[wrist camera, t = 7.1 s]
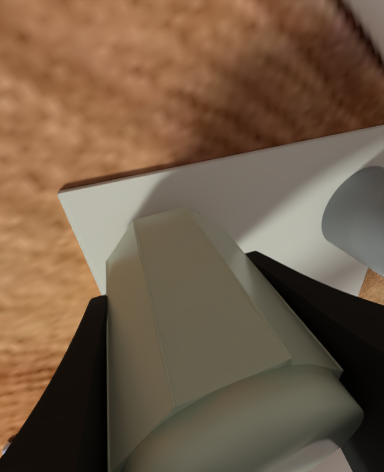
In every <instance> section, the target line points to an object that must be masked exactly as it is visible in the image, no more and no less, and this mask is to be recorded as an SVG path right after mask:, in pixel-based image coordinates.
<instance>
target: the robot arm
mask: <svg viewBox="0 0 384 472" xmlns="http://www.w3.org/2000/svg"><path fill="white" fill-rule="evenodd" d="M245 254H246V256H247V257H248V258H249V259H250V260H251V262H252V263H253V264H254V265H255V266H256V267H257V269H258V270H259V271H260V272H261V273H262V275H263V276H264V277H265V278H266V279H267V280H268V282H269V283H270V284H271V285H272V286H273V288H274V289H275V290H276V291H277V292H278V293H279V295H280V296H281V297H282V298H283V299H284V301H285V302H286V303H287V304H288V305H289V306H290V308H291V309H292V310H293V311H294V312H295V313H296V315H297V316H298V317H299V318H300V319H301V321H302V322H303V323H304V324H305V325H306V326H307V328H308V329H309V330H310V331H311V332H312V334H313V335H314V336H315V337H316V338H317V339H318V341H319V342H320V343H321V344H322V345H323V347H324V348H325V349H326V350H327V351H328V352H329V354H330V355H331V356H332V357H333V358H334V360H335V361H336V362H337V363H338V364H339V365H340V367H341V368H342V369H343V372H342V374H341V376H340V379H339V381H340V382H341V384H342V385H343V386H344V387H345V389H346V390H347V391H348V392H349V394H350V395H351V396H352V397H353V398H354V400H355V401H356V402H357V403H358V405H359V406H360V407H361V408H362V410H363V412H364V418H363V421H362V423H361V424H360V426H359V428H358V429H357V430H356V431H355V433H354V434H353V435H352V436H351V437H350V438H349V439H348V440H347V441H346V442H345V443H344V444H343V445H342V446H341V447H340V448H341V450H342V451H343V453H344V455H345V457H346V459H347V461H348V463H349V465H350V467H351V469H352V471H353V472H384V305H381V304H378V303H374V302H371V301H368V300H365V299H362V298H360V297H357V296H354V295H351V294H349V293H346V292H343V291H341V290H338V289H336V288H333V287H331V286H328V285H326V284H324V283H321V282H319V281H317V280H315V279H312V278H310V277H308V276H306V275H304V274H302V273H300V272H298V271H295V270H293V269H291V268H289V267H287V266H285V265H284V264H282V263H280V262H278V261H276V260H274V259H272V258H270V257H268V256H266V255H264V254H262V253H260V252H258V251H256V250H255V251H252V252H248V253H245ZM107 315H108V305H107V296H106V294H105V295H102V296H98V297H95V298H92V299H91V300H90V301H89V304H88V306H87V309H86V311H85V313H84V316H83V318H82V320H81V322H80V324H79V327H78V329H77V331H76V333H75V335H74V337H73V339H72V341H71V343H70V345H69V347H68V349H67V351H66V353H65V355H64V357H63V359H62V361H61V363H60V365H59V366H58V368H57V370H56V372H55V374H54V376H53V377H52V379H51V381H50V383H49V385H48V386H47V388H46V390H45V391H44V393H43V395H42V396H41V398H40V400H39V401H38V403H37V404H36V406H35V408H34V409H33V411H32V412H31V414H30V415H29V417H28V419H27V420H26V422H25V423H24V425H23V426H22V428H21V429H20V431H19V432H18V434H17V435H16V436H15V438H14V439H13V441H12V442H10V443H8V444H6V445H5V446H4V448H3V451H2V454H3V455H2V457H1V458H0V472H108V450H107V344H106V333H107Z"/></svg>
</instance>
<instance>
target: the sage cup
mask: <svg viewBox="0 0 384 472" xmlns="http://www.w3.org/2000/svg"><path fill="white" fill-rule="evenodd" d="M106 296H107V305H108V315H107V333H106V344H107V450H108V472H308V471H310V470H311V469H312V468H314V467H315V466H317V465H318V464H319V463H321V462H322V461H324V460H325V459H326V458H327V457H329V456H330V455H331V454H332V453H333V452H335V451H336V450H337V449H338V448H340V447H341V446H342V445H343V444H344V443H345V442H346V441H347V440H348V439H349V438H350V437H351V436H352V435H353V434H354V433H355V431H356V430H357V429H358V428H359V426H360V424H361V423H362V421H363V418H364V412H363V410H362V408H361V407H360V406H359V405H358V403H357V402H356V401H355V400H354V398H353V397H352V396H351V395H350V394H349V392H348V391H347V390H346V389H345V387H344V386H343V385H342V384H341V382H340V381H339V379H340V376H341V374H342V372H343V369H342V368H341V367H340V365H339V364H338V363H337V362H336V361H335V360H334V358H333V357H332V356H331V355H330V354H329V352H328V351H327V350H326V349H325V348H324V347H323V345H322V344H321V343H320V342H319V341H318V339H317V338H316V337H315V336H314V335H313V334H312V332H311V331H310V330H309V329H308V328H307V326H306V325H305V324H304V323H303V322H302V321H301V319H300V318H299V317H298V316H297V315H296V313H295V312H294V311H293V310H292V309H291V308H290V306H289V305H288V304H287V303H286V302H285V301H284V299H283V298H282V297H281V296H280V295H279V293H278V292H277V291H276V290H275V289H274V288H273V286H272V285H271V284H270V283H269V282H268V280H267V279H266V278H265V277H264V276H263V275H262V273H261V272H260V271H259V270H258V269H257V267H256V266H255V265H254V264H253V263H252V262H251V260H250V259H249V258H248V257H247V256H246V254H245V253H244V252H243V251H242V250H241V249H240V247H239V246H238V245H237V244H236V243H235V241H234V240H233V239H232V238H231V237H230V236H229V234H228V233H227V232H226V231H225V230H224V228H221V227H220V226H218V225H216V224H215V223H213V222H211V221H210V220H208V219H206V218H205V217H203V216H201V215H199V214H198V213H196V212H194V211H193V210H191V209H189V208H188V207H187V206H185V207H182V208H178V209H175V210H171V211H167V212H163V213H159V214H155V215H151V216H147V217H143V218H140V219H136V220H132V223H131V224H130V226H129V227H128V229H127V230H126V232H125V233H124V235H123V236H122V238H121V240H120V241H119V243H118V244H117V246H116V247H115V249H114V250H113V252H112V253H111V255H110V256H109V258H108V259H107V261H106Z"/></svg>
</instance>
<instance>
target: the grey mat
mask: <svg viewBox="0 0 384 472" xmlns="http://www.w3.org/2000/svg"><path fill="white" fill-rule="evenodd" d="M371 166H381V167H384V125H380V126H375V127H370V128H365V129H360V130H355V131H350V132H345V133H340V134H335V135H330V136H326V137H321V138H316V139H311V140H306V141H301V142H296V143H291V144H286V145H281V146H276V147H272V148H267V149H262V150H257V151H252V152H247V153H242V154H237V155H232V156H227V157H222V158H218V159H213V160H208V161H203V162H198V163H193V164H188V165H183V166H178V167H173V168H168V169H164V170H159V171H154V172H149V173H144V174H139V175H134V176H129V177H124V178H119V179H114V180H110V181H105V182H100V183H95V184H90V185H85V186H80V187H75V188H70V189H65V190H60V191H58V193H57V195H58V197H59V200H60V202H61V204H62V206H63V209H64V211H65V213H66V215H67V218H68V220H69V222H70V224H71V227H72V229H73V231H74V233H75V236H76V238H77V240H78V242H79V245H80V247H81V249H82V251H83V254H84V256H85V258H86V260H87V263H88V265H89V267H90V269H91V272H92V274H93V276H94V279H95V281H96V283H97V285H98V288H99V290H100V292H101V294H102V295H105V294H106V261H107V259H108V258H109V256H110V255H111V253H112V252H113V250H114V249H115V247H116V246H117V244H118V243H119V241H120V240H121V238H122V236H123V235H124V233H125V232H126V230H127V229H128V227H129V226H130V224H131V223H132V220H136V219H140V218H143V217H147V216H151V215H155V214H159V213H163V212H167V211H171V210H175V209H178V208H182V207H185V206H187V207H188V208H189V209H191V210H193V211H194V212H196V213H198V214H199V215H201V216H203V217H205V218H206V219H208V220H210V221H211V222H213V223H215V224H216V225H218V226H220V227H221V228H224V230H225V231H226V232H227V233H228V234H229V236H230V237H231V238H232V239H233V240H234V241H235V243H236V244H237V245H238V246H239V247H240V249H241V250H242V251H243V252H244V253H248V252H252V251H255V250H256V251H258V252H260V253H262V254H264V255H266V256H268V257H270V258H272V259H274V260H276V261H278V262H280V263H282V264H284V265H285V266H287V267H289V268H291V269H293V270H295V271H298V272H300V273H302V274H304V275H306V276H308V277H310V278H312V279H315V280H317V281H319V282H321V283H324V284H326V285H328V286H331V287H333V288H336V289H338V290H341V291H343V292H346V293H349V294H351V295H354V296H357V297H358V294H359V292H360V289H361V286H362V283H363V281H364V278H365V275H366V272H367V269H368V267H366V266H365V265H363V264H362V263H360V262H359V261H357V260H356V259H354V258H353V257H351V256H350V255H348V254H347V253H345V252H344V251H342V250H340V249H339V248H337V247H336V246H334V245H333V244H331V243H330V242H328V241H327V240H326V239H325V237H324V236H323V233H322V228H321V223H322V217H323V213H324V210H325V208H326V206H327V204H328V202H329V200H330V198H331V197H332V195H333V194H334V192H335V191H336V190H337V189H338V187H339V186H340V185H341V184H342V183H343V182H344V181H345V180H346V179H348V178H349V177H350V176H352V175H353V174H354V173H356V172H358V171H360V170H362V169H364V168H367V167H371Z"/></svg>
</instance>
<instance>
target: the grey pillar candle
mask: <svg viewBox="0 0 384 472" xmlns="http://www.w3.org/2000/svg"><path fill="white" fill-rule="evenodd" d="M321 228H322V233H323V236H324V237H325V239H326V240H327V241H328V242H330V243H331V244H333V245H334V246H336V247H337V248H339V249H340V250H342V251H344V252H345V253H347V254H348V255H350V256H351V257H353V258H354V259H356V260H357V261H359V262H360V263H362V264H363V265H365V266H366V267H368V268H370V269H371V270H373V271H374V272H376V273H377V274H379V275H380V276H382V277H383V278H384V167H381V166H371V167H367V168H364V169H362V170H360V171H358V172H356V173H354V174H353V175H352V176H350V177H349V178H348V179H346V180H345V181H344V182H343V183H342V184H341V185H340V186H339V187H338V189H337V190H336V191H335V192H334V194H333V195H332V197H331V198H330V200H329V202H328V204H327V206H326V208H325V210H324V213H323V217H322V223H321Z"/></svg>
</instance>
